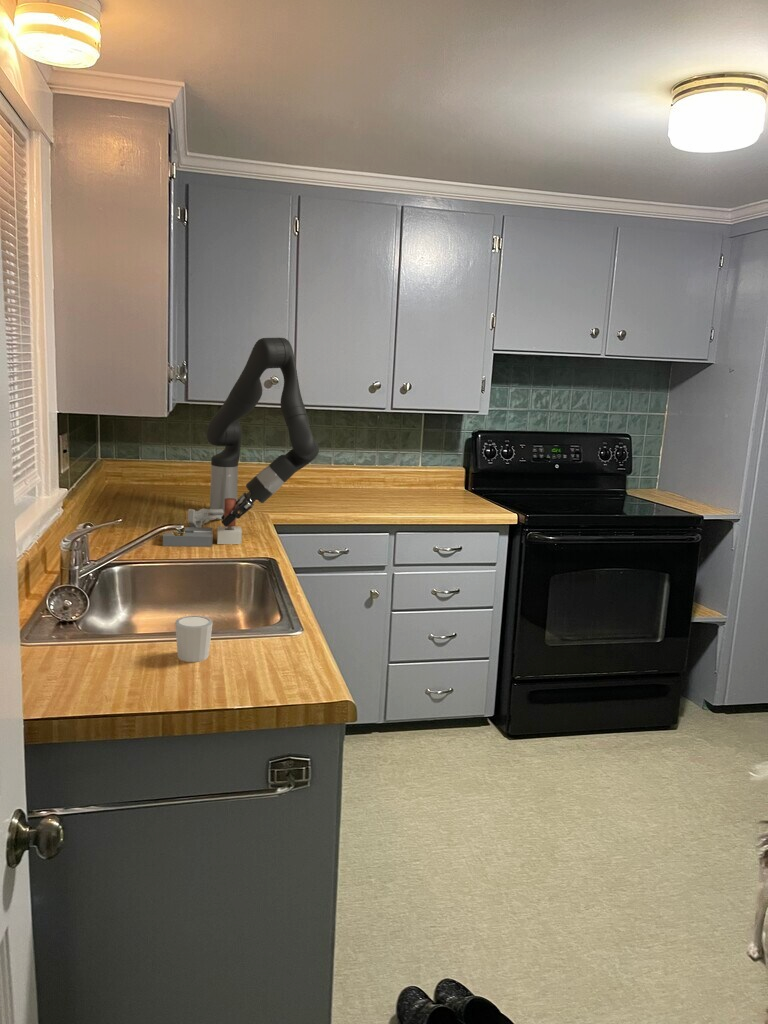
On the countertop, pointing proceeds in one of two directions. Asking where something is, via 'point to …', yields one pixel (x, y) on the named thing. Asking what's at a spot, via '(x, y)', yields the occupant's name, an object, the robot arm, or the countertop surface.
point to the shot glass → (193, 638)
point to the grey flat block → (190, 537)
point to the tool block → (229, 535)
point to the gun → (203, 516)
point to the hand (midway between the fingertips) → (223, 522)
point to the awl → (229, 510)
